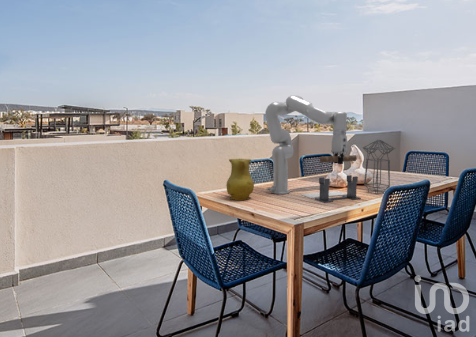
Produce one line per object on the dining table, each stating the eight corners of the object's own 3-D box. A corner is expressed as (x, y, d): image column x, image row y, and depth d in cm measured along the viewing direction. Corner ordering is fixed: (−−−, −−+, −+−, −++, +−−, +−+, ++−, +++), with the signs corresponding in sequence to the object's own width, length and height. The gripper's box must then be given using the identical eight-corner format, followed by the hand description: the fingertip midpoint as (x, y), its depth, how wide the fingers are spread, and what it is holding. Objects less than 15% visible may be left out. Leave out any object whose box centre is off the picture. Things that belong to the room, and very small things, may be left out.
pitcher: (221, 199, 217) (222, 158, 215) (232, 195, 235) (233, 157, 233) (248, 202, 212) (249, 160, 210) (257, 197, 229) (259, 158, 227)
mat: (310, 198, 220) (310, 197, 220) (300, 195, 231) (300, 194, 231) (348, 194, 230) (348, 194, 230) (337, 191, 241) (337, 190, 241)
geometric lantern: (359, 191, 241) (361, 139, 237) (378, 189, 246) (380, 138, 242) (375, 195, 227) (377, 140, 222) (395, 193, 231) (397, 139, 227)
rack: (324, 202, 208) (325, 179, 206) (315, 199, 217) (315, 177, 216) (360, 198, 217) (361, 176, 216) (350, 195, 227) (350, 174, 225)
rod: (323, 162, 209) (323, 156, 208) (319, 162, 212) (319, 156, 212) (356, 161, 217) (356, 155, 217) (352, 160, 221) (353, 154, 220)
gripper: (353, 133, 206) (352, 165, 208) (336, 132, 221) (335, 161, 224) (342, 133, 203) (341, 165, 206) (326, 132, 219) (325, 162, 221)
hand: (338, 163), depth 215 cm, fingers closed on rod, 3 cm apart
